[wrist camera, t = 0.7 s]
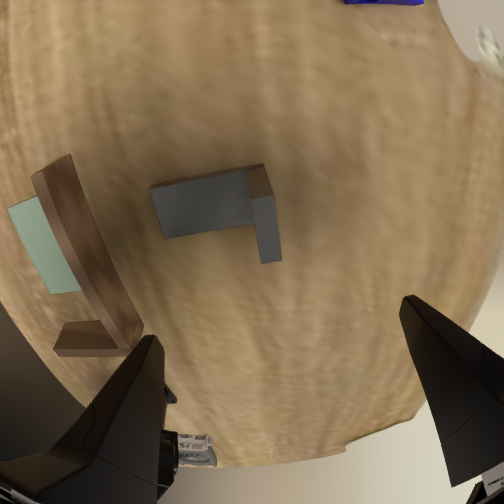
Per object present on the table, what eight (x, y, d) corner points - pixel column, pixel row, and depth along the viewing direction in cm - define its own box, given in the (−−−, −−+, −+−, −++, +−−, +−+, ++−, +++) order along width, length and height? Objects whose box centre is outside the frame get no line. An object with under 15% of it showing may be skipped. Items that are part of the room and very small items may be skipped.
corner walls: (144, 325, 27) (135, 356, 24) (70, 330, 28) (58, 356, 24) (70, 153, 18) (41, 171, 14) (-5, 189, 18) (-31, 209, 15)
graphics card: (143, 444, 41) (208, 449, 41) (146, 426, 44) (209, 431, 44) (168, 466, 50) (220, 469, 50) (169, 452, 53) (220, 455, 53)
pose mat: (94, 286, 24) (93, 288, 24) (52, 292, 25) (51, 294, 24) (50, 190, 19) (49, 191, 19) (9, 207, 19) (7, 209, 19)
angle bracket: (263, 163, 19) (273, 195, 14) (270, 214, 22) (282, 260, 17) (152, 184, 20) (126, 223, 15) (167, 232, 22) (149, 280, 17)
